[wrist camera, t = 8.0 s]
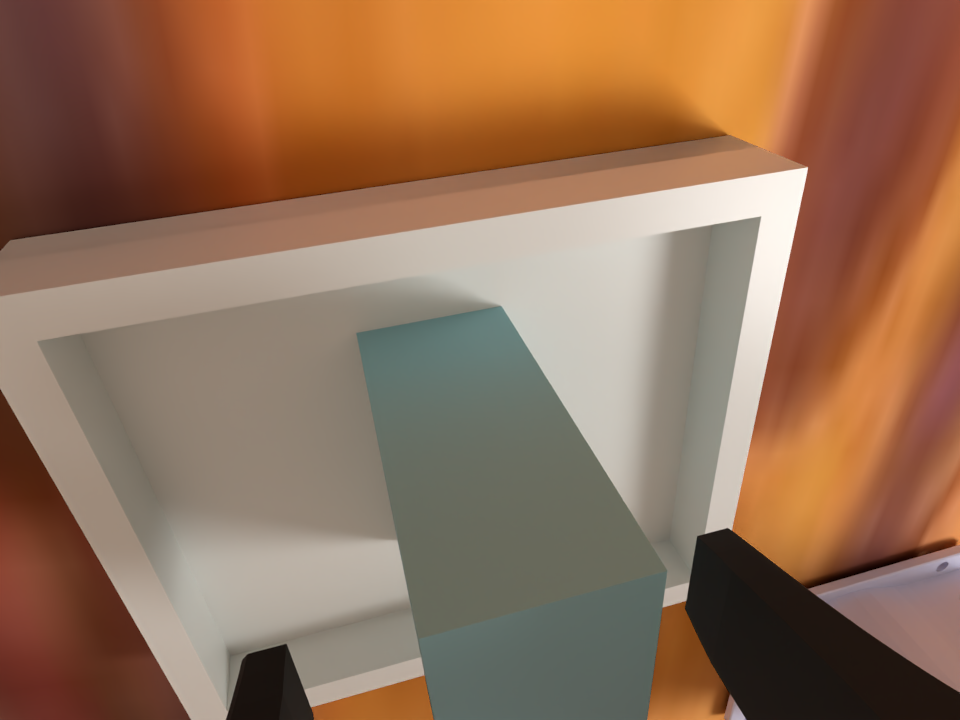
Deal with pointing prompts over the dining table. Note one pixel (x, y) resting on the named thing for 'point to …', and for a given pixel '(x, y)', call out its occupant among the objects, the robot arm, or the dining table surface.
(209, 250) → the tray
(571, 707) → the teal block
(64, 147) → the dining table surface
